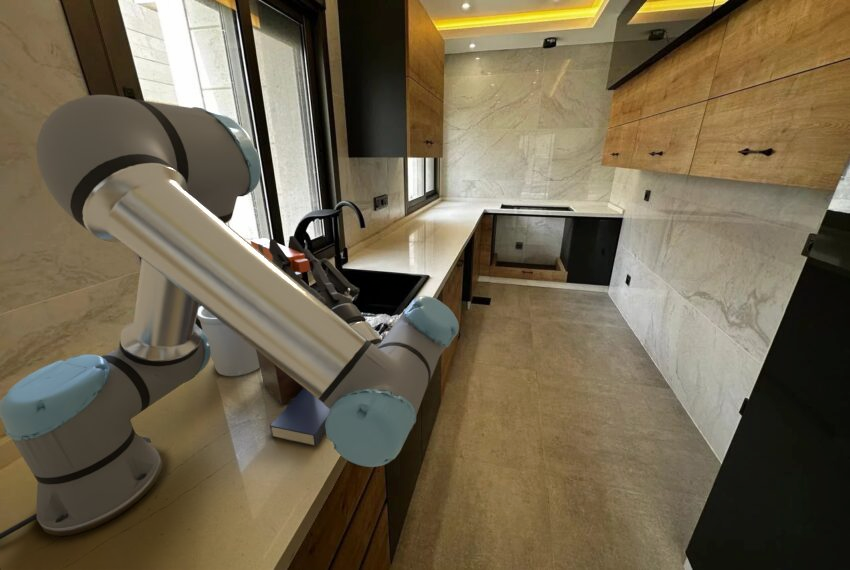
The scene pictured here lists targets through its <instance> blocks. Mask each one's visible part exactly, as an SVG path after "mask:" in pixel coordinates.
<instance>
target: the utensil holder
mask: <svg viewBox="0 0 850 570" xmlns="http://www.w3.org/2000/svg"><path fill="white" fill-rule="evenodd" d="M197 320H198V321H199V323H200V327H201V330H202V331H203V332H204V333H205V335H206V337H207V339H208V341H207V344H209V345H210V349H211V355H210V358H211V360H212V362H213V366H214V368H215V370H216V372H217V373H218V374H219V375H220V376H226V377H238V376H242V375H247V374H250V373H252V372H255V371H257V370H258V369H260V366H259V361H258V357H257V352H256V349H255V348H254V347H252V346H251V345H250V344H249V343H247V342H246V341H245V340H244V339H242V338H241V337H240V336H239V335H237V334H236V333H235V332H234V331H232V330H231V329H230V328H229V327H227V326H226V325H225V324H224V323H222V322H221V321H220V320H219V319H217V318H216V317H215V316H214V315H212V314H211V313H210V312H209V311H207V310H206V309H205V308H204V307H202V306H201V305H199V309H198V313H197Z"/></svg>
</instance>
